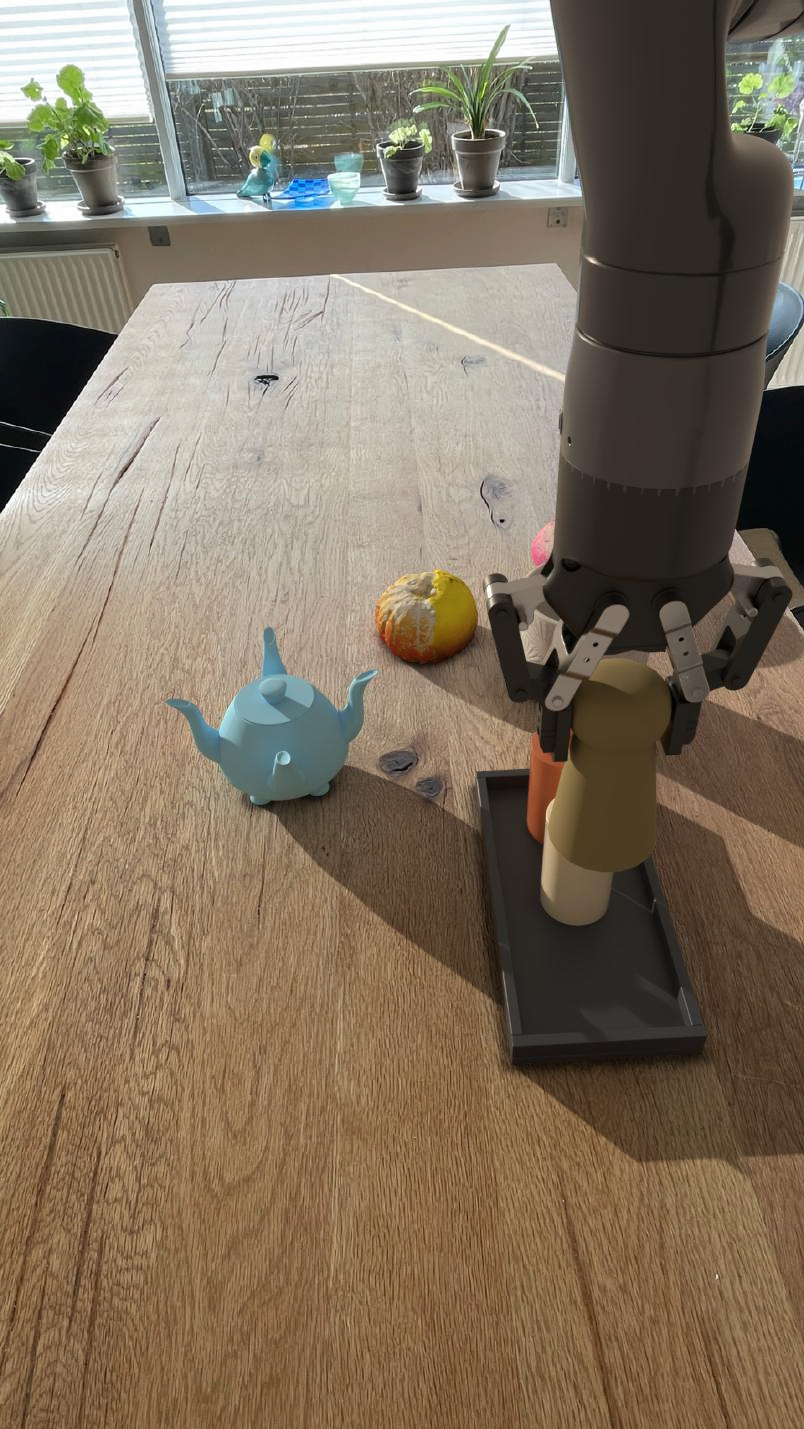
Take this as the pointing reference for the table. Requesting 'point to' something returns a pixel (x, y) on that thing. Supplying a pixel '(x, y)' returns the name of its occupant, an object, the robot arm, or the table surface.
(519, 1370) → the table surface
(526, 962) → the tray
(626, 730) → the pepper shaker
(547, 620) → the planter
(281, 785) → the teapot
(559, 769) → the terracotta bottle
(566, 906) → the cream bottle
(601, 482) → the robot arm
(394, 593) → the fruit
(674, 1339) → the table surface
